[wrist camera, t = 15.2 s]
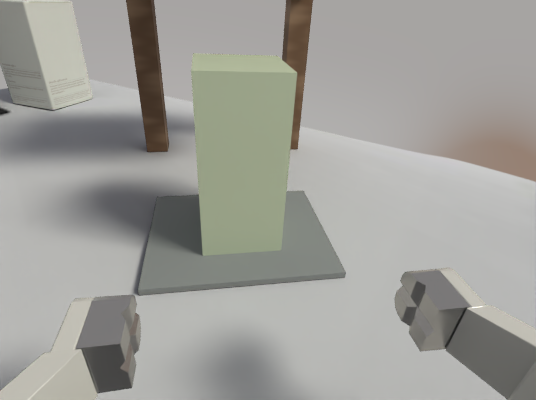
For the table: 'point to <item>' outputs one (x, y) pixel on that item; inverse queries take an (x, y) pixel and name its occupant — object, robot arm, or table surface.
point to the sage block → (242, 149)
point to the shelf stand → (151, 76)
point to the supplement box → (42, 54)
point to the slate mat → (232, 265)
